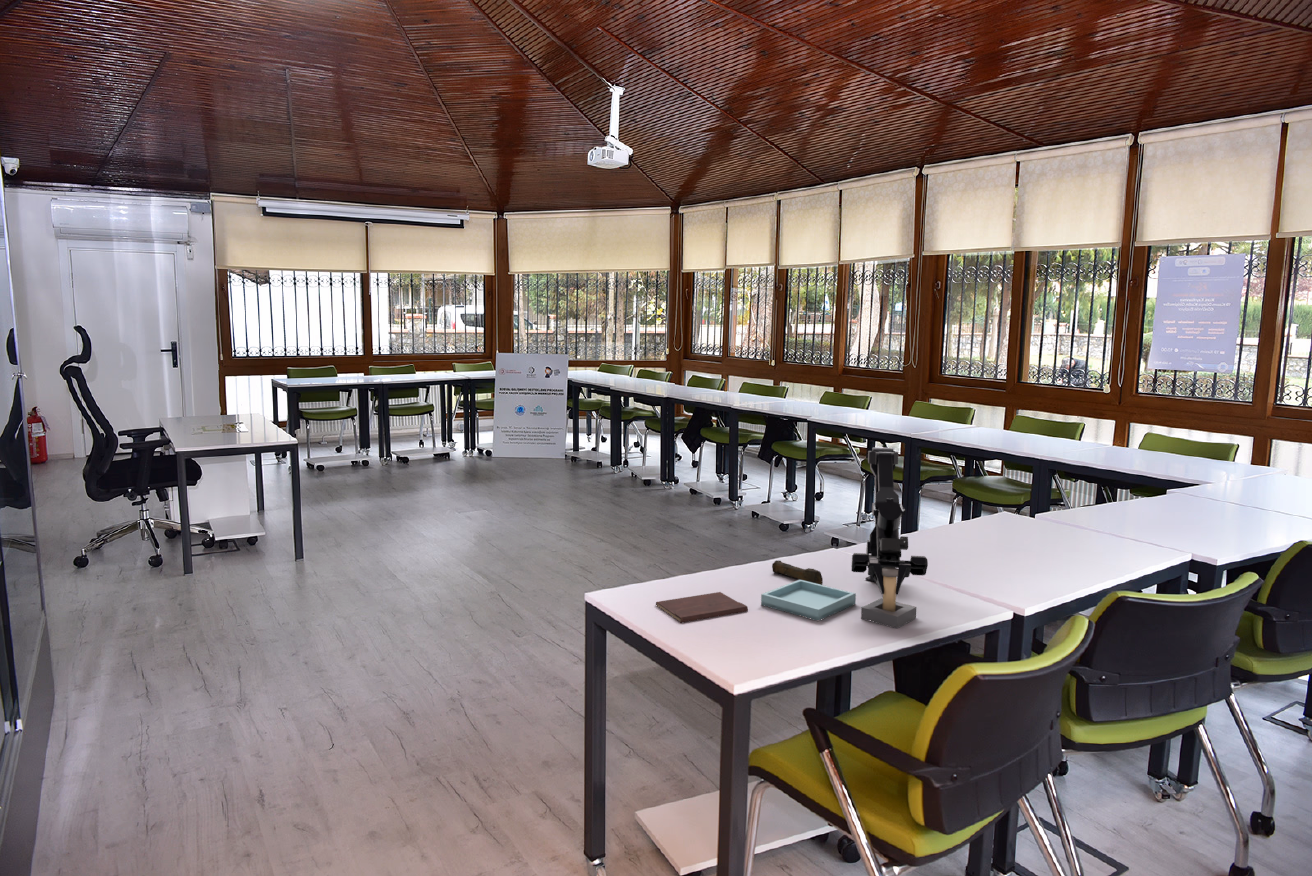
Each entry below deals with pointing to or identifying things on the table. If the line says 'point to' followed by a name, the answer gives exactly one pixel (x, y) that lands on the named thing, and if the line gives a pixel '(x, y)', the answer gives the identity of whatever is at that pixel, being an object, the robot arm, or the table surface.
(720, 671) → the table surface
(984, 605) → the table surface
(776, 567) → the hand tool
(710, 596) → the notebook
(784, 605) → the parts tray
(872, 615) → the socket block
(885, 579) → the fuse
